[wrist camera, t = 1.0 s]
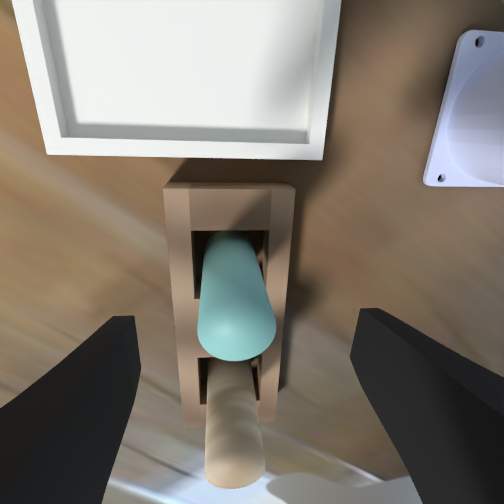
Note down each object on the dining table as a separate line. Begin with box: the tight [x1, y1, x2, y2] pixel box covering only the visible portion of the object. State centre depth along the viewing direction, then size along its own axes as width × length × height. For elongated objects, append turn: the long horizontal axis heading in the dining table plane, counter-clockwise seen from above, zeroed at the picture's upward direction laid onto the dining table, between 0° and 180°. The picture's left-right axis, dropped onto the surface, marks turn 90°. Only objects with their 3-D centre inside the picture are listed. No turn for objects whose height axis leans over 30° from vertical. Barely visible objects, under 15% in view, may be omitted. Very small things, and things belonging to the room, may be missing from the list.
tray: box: [12, 0, 341, 160], centre depth 14 cm, size 14×11×1 cm
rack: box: [163, 182, 296, 428], centre depth 20 cm, size 18×7×2 cm, turn 178°
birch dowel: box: [205, 357, 266, 489], centre depth 19 cm, size 3×3×8 cm
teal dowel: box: [197, 230, 276, 361], centre depth 16 cm, size 3×3×8 cm
